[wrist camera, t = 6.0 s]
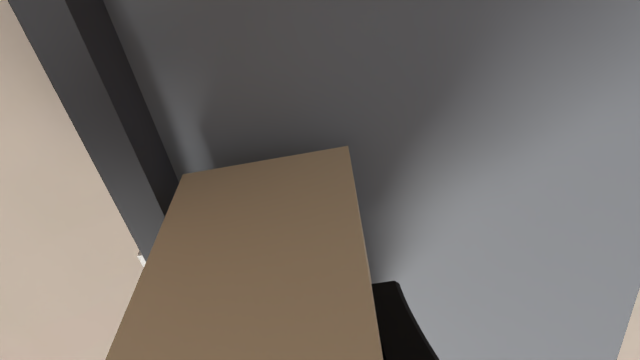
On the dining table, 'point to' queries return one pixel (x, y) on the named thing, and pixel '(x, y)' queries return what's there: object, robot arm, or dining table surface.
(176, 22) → the shelf board
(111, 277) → the dining table surface
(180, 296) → the carton
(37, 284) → the dining table surface
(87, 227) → the dining table surface
